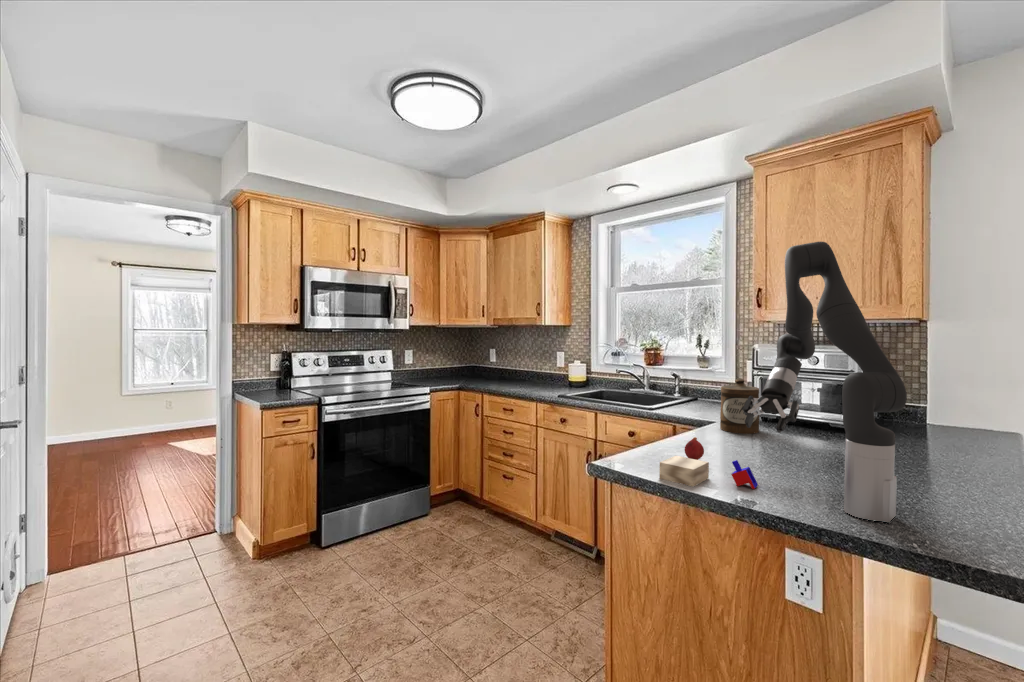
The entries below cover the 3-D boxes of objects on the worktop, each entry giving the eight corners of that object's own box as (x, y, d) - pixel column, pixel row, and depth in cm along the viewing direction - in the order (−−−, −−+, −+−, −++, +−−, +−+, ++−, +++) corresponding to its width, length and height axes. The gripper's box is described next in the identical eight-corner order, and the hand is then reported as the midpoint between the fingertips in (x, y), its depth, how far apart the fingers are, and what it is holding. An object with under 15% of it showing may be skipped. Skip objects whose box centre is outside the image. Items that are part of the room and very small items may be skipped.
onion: (691, 465, 153) (692, 439, 153) (680, 460, 159) (681, 435, 159) (707, 463, 155) (707, 438, 155) (696, 458, 160) (696, 434, 160)
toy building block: (743, 489, 136) (729, 461, 138) (758, 485, 133) (744, 456, 135) (740, 492, 133) (726, 464, 135) (755, 488, 130) (741, 459, 132)
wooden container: (722, 432, 200) (723, 379, 199) (718, 425, 214) (719, 375, 213) (762, 435, 195) (763, 380, 195) (755, 427, 209) (756, 376, 209)
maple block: (708, 479, 140) (708, 462, 140) (693, 487, 133) (693, 469, 133) (675, 471, 147) (675, 455, 147) (659, 479, 140) (659, 462, 140)
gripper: (752, 375, 151) (734, 416, 144) (802, 379, 140) (785, 424, 133) (759, 391, 155) (741, 432, 148) (808, 396, 144) (792, 440, 137)
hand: (762, 428), depth 140 cm, fingers open, 8 cm apart
